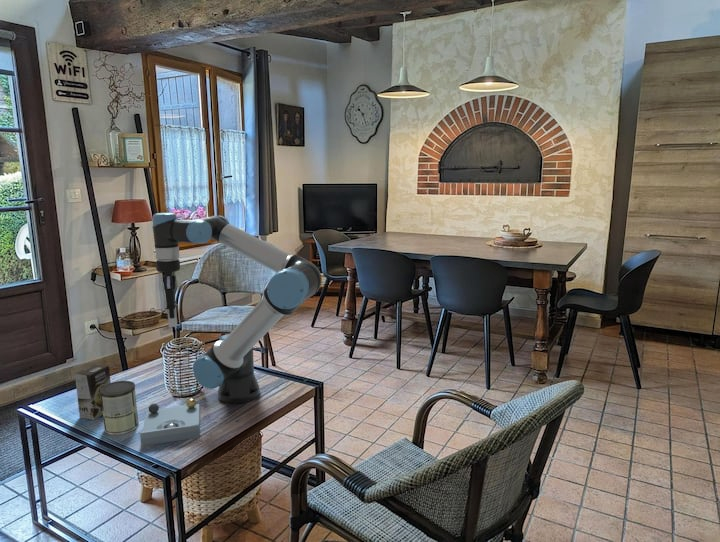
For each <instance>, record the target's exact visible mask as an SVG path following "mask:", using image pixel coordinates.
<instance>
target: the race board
mask: <svg viewBox="0 0 720 542" xmlns="http://www.w3.org/2000/svg"><path fill="white" fill-rule="evenodd" d="M200 406H201V405H200V403H196V406H195V407H194V408H188V407H187V405H180V406H179V405H178V406H172V407H164V408H159V410H158V411H157V412H156V413H150V412H149V409H148V410H146V414H145V418H144V422H143V426H142V431H140V432H139V435H140V446H141V447H144V446H151V445H157V444H158V445H159V444H164V443H172V442H173V443H174V442H179V441H184V440H191V439H198V438H200V436H201V434H200V433H201V432H200V429H201V428H200V426H201V423H200V422H201V415H200V414H201V413H200V412H201V411H200V409H201V408H200ZM169 424H175V425H176V426H177V427H172V428H167V426H168V425H169Z"/></svg>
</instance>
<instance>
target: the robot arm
mask: <svg viewBox="0 0 720 542" xmlns="http://www.w3.org/2000/svg"><path fill="white" fill-rule="evenodd" d="M152 233H153V239H154V249H153V251H152V252H153V254H155V259H156V261H155V267H156V268H155V269H156V271H157V272H159V273H164V275H163V276H162V282H163V288H164V289H163V290H164V292H165V299H166V300H165V301H166V307H164V310H167V321H168V322H167V324H168V328H175V327H176V328H177V327H178V318H177V316H178V315H177V307H178V306H179V305H178V303H177V304H176V292H175V291H176V278H177V277H176V276H177V275H176V274H174V273H175V272H178V271H180V270H181V260H180V259H179V258H180V246H179V243H183V244H184V243H185V244H196V245H199V244H206V243H208V242H209V241H210V240H213V241H215V242H217V243H219V244H221V245H222V246H225V247H227V248H229V249H231V250H233V251H234V252H237V253H238V254H241V255H242V256H244V257H246V258H248V259H250V260H251V261H253V262H255V263H258V264H260V265H261V266H263V267H265V268H267V269H269V270H271V271H273V272H275V274H274V275H272V276H271V278H270V279H269V281H268V283H267V286H266V287H265V288H264V290H263V291H262V293H263V298H261V300H260V301H259V302H258V303H256V305H255V306H254V307H253V308H252V309H251V310H250V312H249V313H247V315H245V317H244V318H243V319H242V320H241V321H240V322H239V323H238V324H237V326H236V327H234V329H233V330H232V331H231V332H230V333H229V334H224V335H221V336H220V337H219V340H217V341H215V343H214V344H213V345H212V346H211V347H210V348H209V349H208V350H207V351H206V352H205V353H204V354H203V355H200V356H198V357H197V359H195V360H194V362H193V365H192V371H193V375H194V376H193V377H194V378H195V380H196V381H197V383H199V384H200V385H201V386H203V387H204V388H205V389H209V390H212V389H216V388H218V389H217V399H218V400H219V401H221V402H223V403H226V404H232V405H233V404H245V403H248V402H250V401H252V400H255V399H256V398H258V397H259V395H260V394H261V393H260V391H261V390H260V385H259V381H258V380H257V378H256V375H255V371H254V370H255V365H254V347H255V346H256V345H257V344H258V343H259V341H260V340H262V338H263V337H265V335H267V333H269V332H270V330H271V329H272V328H273V327H274V326H275V325H276V324H277V323H278V322H279V321H280V320H281V318H283V317H287V316H291V315H292V314H293V313H294V312H295V311H296V310H297V309H298V308H299V307H300V306H301V305H302V304H303V303H304V302H305V301H306V300H308V299H309V298H311V297H313V296H314V295H316V293H318V292H319V289H321V286H322V284H323V283H322V281H323V280H322V279H323V278H322V277H323V276H322V274H321V272H320V268H318V267H317V266H316V265H315V264H314V263H313V262H312V261H309V260H307V258H304V257H302V256H300V255H298V254H296V253H293V254H290V253H287V252H286V251H284V250H282V249H280V248H278V247H275V246H274V245H272V244H270V243H268V242H266V241H265V240H262V239H260V238H258V237H256V236H254V235H252V234H250V233H248V232H246V231H244V230H242V229H240V228H239V227H236V226H234V225H232V224H230V221H229V220H228V219H227V218H226V217H225V216H223V215H212V216H206V217H202V218H195V219H178V218H177V214H176V213H174V212H159V213H158V212H157V213H154V214H153V216H152Z"/></svg>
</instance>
